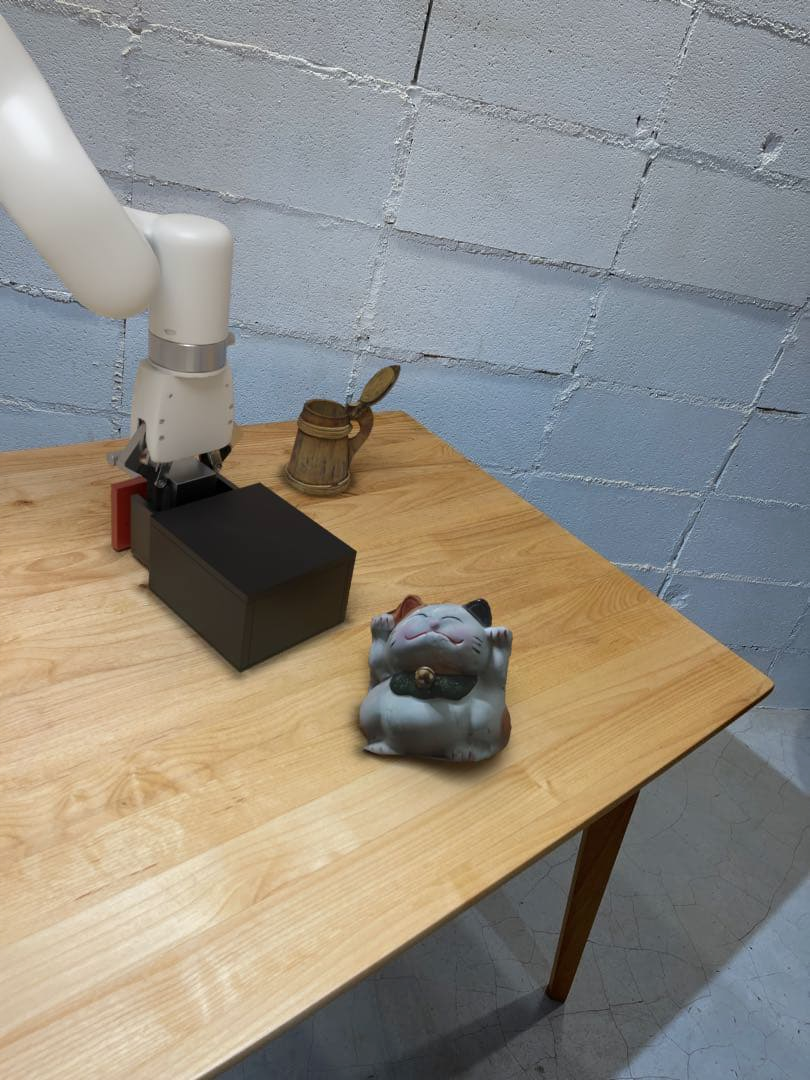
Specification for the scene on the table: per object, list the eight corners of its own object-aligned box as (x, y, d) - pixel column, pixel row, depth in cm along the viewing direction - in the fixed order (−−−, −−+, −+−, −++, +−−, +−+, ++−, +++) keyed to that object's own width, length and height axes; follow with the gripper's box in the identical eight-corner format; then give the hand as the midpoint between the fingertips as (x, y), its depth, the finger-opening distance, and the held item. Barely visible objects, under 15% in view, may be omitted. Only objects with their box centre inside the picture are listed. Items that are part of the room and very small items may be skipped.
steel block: (149, 503, 90) (150, 463, 87) (188, 492, 93) (189, 453, 90) (175, 524, 87) (176, 484, 85) (214, 512, 91) (216, 473, 88)
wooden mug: (385, 501, 112) (409, 379, 102) (286, 497, 108) (302, 369, 99) (373, 469, 119) (394, 352, 110) (280, 464, 115) (294, 342, 106)
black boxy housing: (148, 592, 86) (149, 514, 81) (252, 554, 96) (259, 482, 91) (239, 677, 78) (247, 596, 73) (343, 625, 88) (357, 551, 83)
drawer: (84, 521, 93) (82, 456, 89) (178, 494, 102) (181, 433, 98) (187, 614, 83) (190, 546, 79) (283, 575, 92) (291, 512, 87)
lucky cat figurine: (328, 746, 73) (340, 592, 72) (384, 716, 84) (395, 582, 83) (488, 783, 67) (504, 616, 66) (526, 745, 78) (539, 602, 77)
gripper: (235, 326, 88) (224, 473, 98) (87, 346, 77) (92, 510, 86) (279, 351, 84) (264, 501, 94) (130, 376, 73) (130, 545, 82)
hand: (181, 504), depth 90 cm, fingers closed on steel block, 5 cm apart
